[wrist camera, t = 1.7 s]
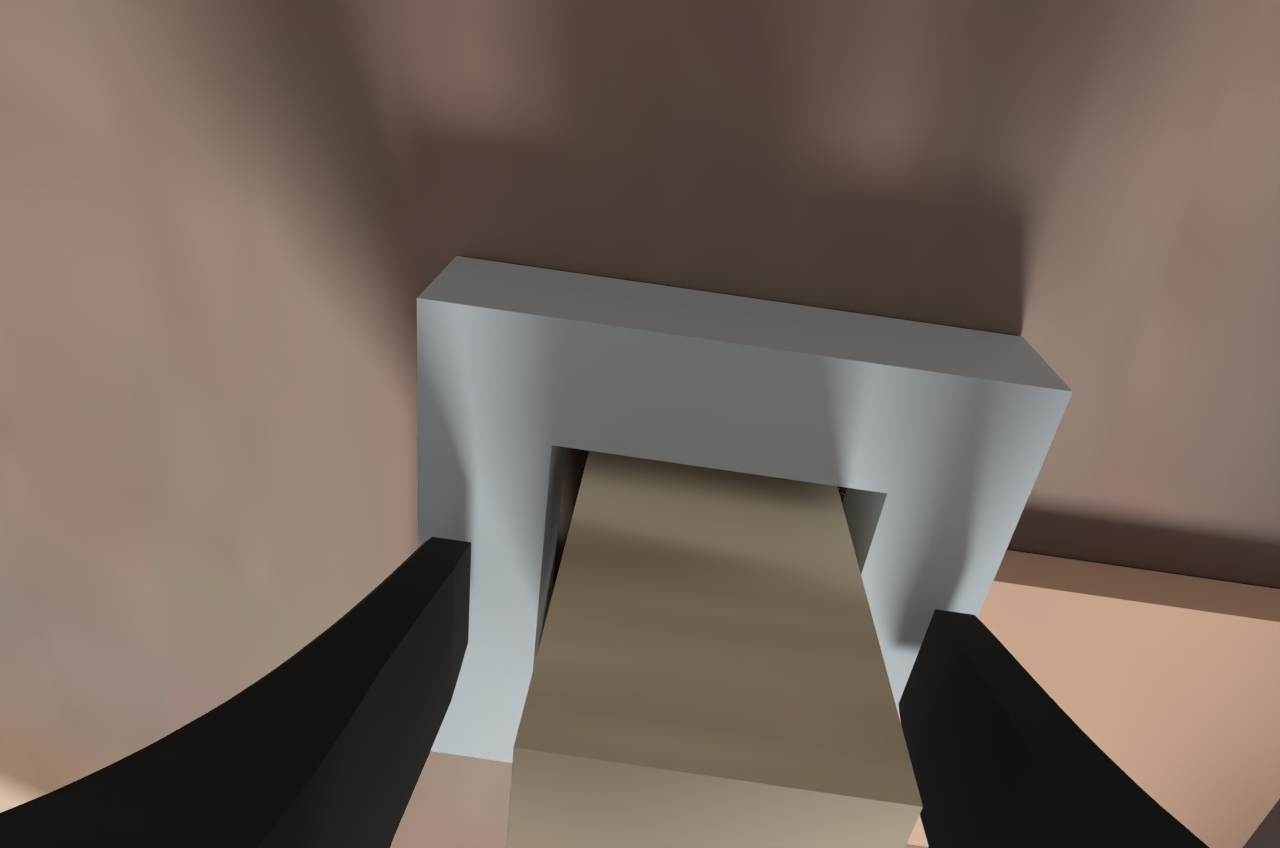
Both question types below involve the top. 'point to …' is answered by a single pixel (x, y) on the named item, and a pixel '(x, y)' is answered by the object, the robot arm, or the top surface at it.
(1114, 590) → the terracotta tile
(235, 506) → the top surface
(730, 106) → the top surface
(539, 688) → the birch block
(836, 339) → the board
